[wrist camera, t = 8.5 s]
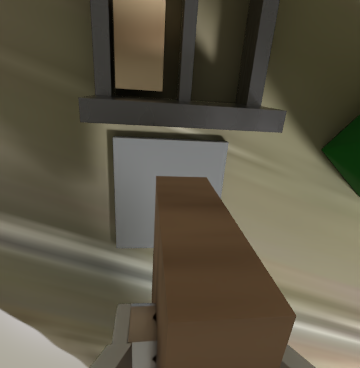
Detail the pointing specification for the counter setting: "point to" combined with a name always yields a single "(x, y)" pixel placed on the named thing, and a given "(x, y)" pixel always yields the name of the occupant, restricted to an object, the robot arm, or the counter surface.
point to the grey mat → (146, 179)
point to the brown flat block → (211, 285)
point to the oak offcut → (139, 44)
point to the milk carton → (347, 153)
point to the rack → (186, 78)
